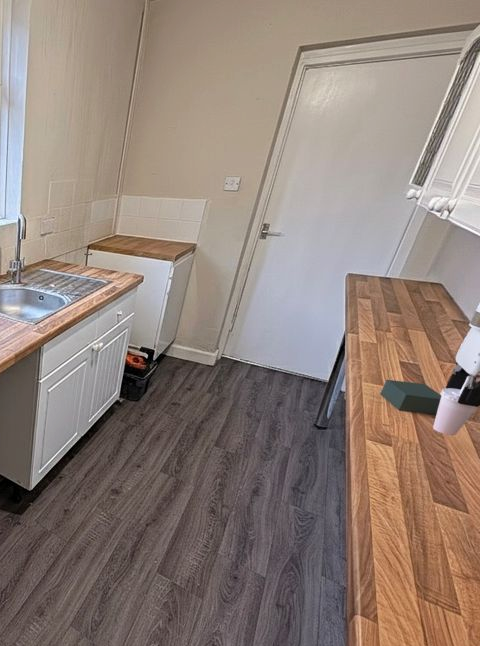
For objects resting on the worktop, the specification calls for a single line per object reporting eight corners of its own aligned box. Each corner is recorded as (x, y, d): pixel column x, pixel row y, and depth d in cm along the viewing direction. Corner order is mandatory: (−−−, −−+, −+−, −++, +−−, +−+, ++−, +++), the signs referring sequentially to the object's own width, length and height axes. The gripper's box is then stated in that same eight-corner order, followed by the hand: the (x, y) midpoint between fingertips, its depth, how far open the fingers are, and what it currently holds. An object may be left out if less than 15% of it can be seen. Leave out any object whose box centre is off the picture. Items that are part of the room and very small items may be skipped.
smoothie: (455, 426, 98) (482, 374, 92) (471, 441, 92) (501, 386, 87) (419, 420, 100) (443, 369, 95) (433, 434, 95) (459, 381, 89)
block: (417, 398, 120) (425, 383, 118) (439, 415, 112) (447, 399, 110) (379, 394, 123) (386, 379, 121) (398, 410, 115) (406, 394, 113)
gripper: (550, 340, 77) (504, 420, 84) (505, 314, 91) (469, 385, 98) (491, 333, 81) (452, 410, 88) (456, 309, 95) (425, 378, 101)
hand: (461, 396), depth 93 cm, fingers closed on smoothie, 6 cm apart
